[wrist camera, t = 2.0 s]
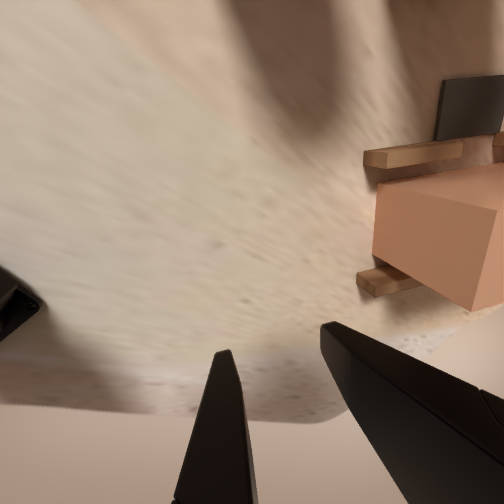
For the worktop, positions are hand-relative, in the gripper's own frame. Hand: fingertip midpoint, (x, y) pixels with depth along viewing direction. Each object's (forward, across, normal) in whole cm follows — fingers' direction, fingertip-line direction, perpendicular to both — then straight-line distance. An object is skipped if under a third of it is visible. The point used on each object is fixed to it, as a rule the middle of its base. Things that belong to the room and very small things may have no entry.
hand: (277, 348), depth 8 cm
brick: (+13, -20, +2) cm, 24 cm away
